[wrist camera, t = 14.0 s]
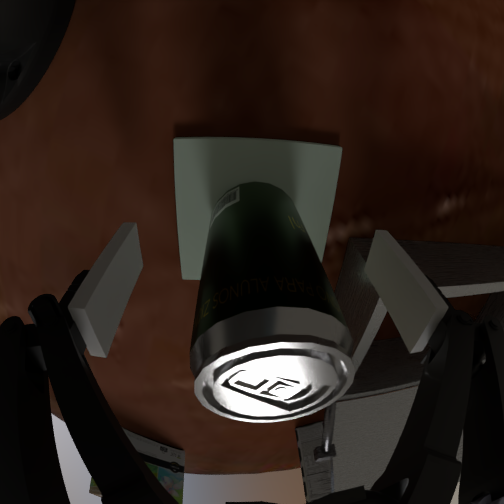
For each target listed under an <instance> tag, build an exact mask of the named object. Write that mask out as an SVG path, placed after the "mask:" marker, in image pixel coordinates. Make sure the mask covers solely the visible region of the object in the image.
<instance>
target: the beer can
mask: <svg viewBox="0 0 504 504" xmlns="http://www.w3.org/2000/svg"><path fill="white" fill-rule="evenodd" d="M353 344H354V342H353V340H352V337H351V334H350V332H349V329H348V327H347V324H346V322H345V319H344V317H343V314H342V311H341V309H340V307H339V304H338V302H337V299H336V297H335V294H334V292H333V289H332V287H331V285H330V282H329V280H328V278H327V275H326V273H325V271H324V268H323V266H322V264H321V261H320V259H319V257H318V255H317V252H316V250H315V248H314V246H313V243H312V241H311V239H310V237H309V234H308V232H307V230H306V228H305V226H304V224H303V221H302V219H301V217H300V215H299V213H298V211H297V209H296V207H295V205H294V203H293V201H292V199H291V198H290V197H289V196H288V195H287V194H286V193H285V192H284V191H283V190H282V189H280V188H278V187H276V186H274V185H272V184H270V183H264V182H256V181H254V182H248V183H243V184H239V185H237V186H235V187H233V188H231V189H230V190H228V191H226V193H225V194H224V195H223V196H222V197H221V198H220V199H219V200H218V201H217V203H216V205H215V207H214V210H213V212H212V216H211V221H210V226H209V232H208V237H207V243H206V249H205V254H204V260H203V266H202V272H201V278H200V285H199V291H198V297H197V304H196V311H195V318H194V325H193V332H192V339H191V347H190V369H191V371H192V373H193V375H194V377H195V381H194V383H195V395H196V397H197V398H198V399H199V401H200V402H201V404H202V405H203V406H205V407H206V408H208V409H209V410H211V411H212V412H214V413H216V414H218V415H221V416H224V417H227V418H230V419H233V420H240V421H246V422H278V421H285V420H291V419H295V418H299V417H302V416H306V415H309V414H312V413H314V412H316V411H319V410H321V409H323V408H325V407H327V406H329V405H330V404H332V403H333V402H335V401H336V400H337V399H339V398H340V397H341V396H342V395H344V394H345V392H346V391H347V390H348V388H349V387H350V386H351V384H352V383H353V380H354V375H355V367H354V364H353V361H352V359H351V357H352V351H353Z"/></svg>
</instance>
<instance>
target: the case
mask: <svg viewBox="0 0 504 504" xmlns="http://www.w3.org/2000/svg"><path fill="white" fill-rule="evenodd" d="M396 241H397V242H398V244H399V245H400V246H401V247H402V248H403V249H404V251H405V252H406V253H407V254H408V255H409V257H410V258H411V259H412V260H413V261H414V263H415V264H416V265H417V266H418V268H419V269H420V270H421V271H422V273H423V274H425V275H427V276H428V277H429V278H430V279H432V280H433V281H434V282H435V284H436V285H437V286H438V288H439V289H440V290H441V292H442V293H443V294H444V296H445V297H446V298H449V297H459V296H468V295H476V294H484V293H491V294H490V296H489V298H488V300H487V302H486V303H485V305H484V307H483V308H482V310H481V312H480V314H479V315H478V317H477V318H476V320H475V322H478V323H482V321H483V319H484V318H485V316H487V315H490V316H493V317H495V318H497V319H498V320H499V322H500V323H501V325H502V327H503V329H504V247H503V246H489V245H475V244H460V243H444V242H428V241H410V240H396ZM372 242H373V239H370V238H349V242H348V246H347V250H346V253H345V257H344V261H343V265H342V269H341V272H340V276H339V279H338V283H337V286H336V290H335V293H334V294H335V297H336V299H337V302H338V304H339V307H340V309H341V311H342V314H343V317H344V319H345V322H346V324H347V327H348V329H349V332H350V334H351V337H352V340H353V342H354V344H353V351H352V357H351V359H352V361H353V364H354V367H355V375H354V380H353V383H352V384H351V386H350V387H349V388H348V390H347V391H346V392H345V394H344V395H342V396H341V397H340V398H339V399H337V400H336V401H335V402H333V403H332V404H330V405H329V406H327V407H325V412H324V423H323V434H322V443H321V446H317V447H316V448H315V449H314V450H313V453H314V459H315V462H319V461H325V460H330V466H331V488H332V493H333V492H337V491H342V490H346V489H351V488H355V487H359V486H362V485H364V488H365V490H370V489H371V487H372V486H373V484H374V483H375V482H376V481H377V479H378V478H379V477H380V476H381V475H382V474H383V472H384V471H385V469H386V467H387V465H388V463H389V461H390V459H391V457H392V455H393V452H394V450H395V448H396V446H397V443H398V441H399V439H400V436H401V434H402V431H403V429H404V426H405V424H406V421H407V418H408V416H409V413H410V410H411V407H412V404H413V402H414V399H415V396H416V392H417V389H418V385H419V383H420V379H421V376H422V372H423V369H424V365H425V361H424V362H423V364H421V361H422V360H423V358H424V357H425V356H426V354H427V353H428V351H429V350H430V348H431V346H430V345H429V343H427V344H426V346H425V347H424V349H423V351H420V352H415V353H409V351H408V349H407V347H406V345H405V343H404V341H403V339H402V337H401V338H394V339H386V340H378V341H373V339H374V337H375V335H376V333H377V331H378V329H379V327H380V325H381V323H382V321H383V319H384V317H385V315H386V313H387V309H386V307H385V305H384V303H383V301H382V300H381V298H380V296H379V294H378V293H377V291H376V289H375V287H374V286H373V284H372V282H371V281H370V279H369V277H368V276H367V274H366V272H365V271H364V268H365V265H366V262H367V259H368V255H369V252H370V249H371V245H372ZM485 361H486V355H485V357H484V358H483V359H482V363H483V364H484V363H485ZM414 386H417V387H414ZM410 387H413V388H410ZM406 388H409V389H406ZM402 389H405V390H402ZM397 390H401V391H397ZM393 391H396V392H393ZM388 392H392V393H388ZM384 393H387V394H384ZM379 394H383V395H379ZM374 395H378V396H374ZM368 396H372V397H368ZM363 397H367V398H363ZM357 398H361V399H357ZM351 399H356V400H351ZM344 400H349V401H344ZM337 401H343V402H337ZM462 452H463V431H462V436H461V440H460V444H459V448H458V451H457V456H456V459H457V460H458V461H460V462H461V463H462ZM460 477H461V474H460ZM460 477H459V480H458V482H459V481H460Z"/></svg>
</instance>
